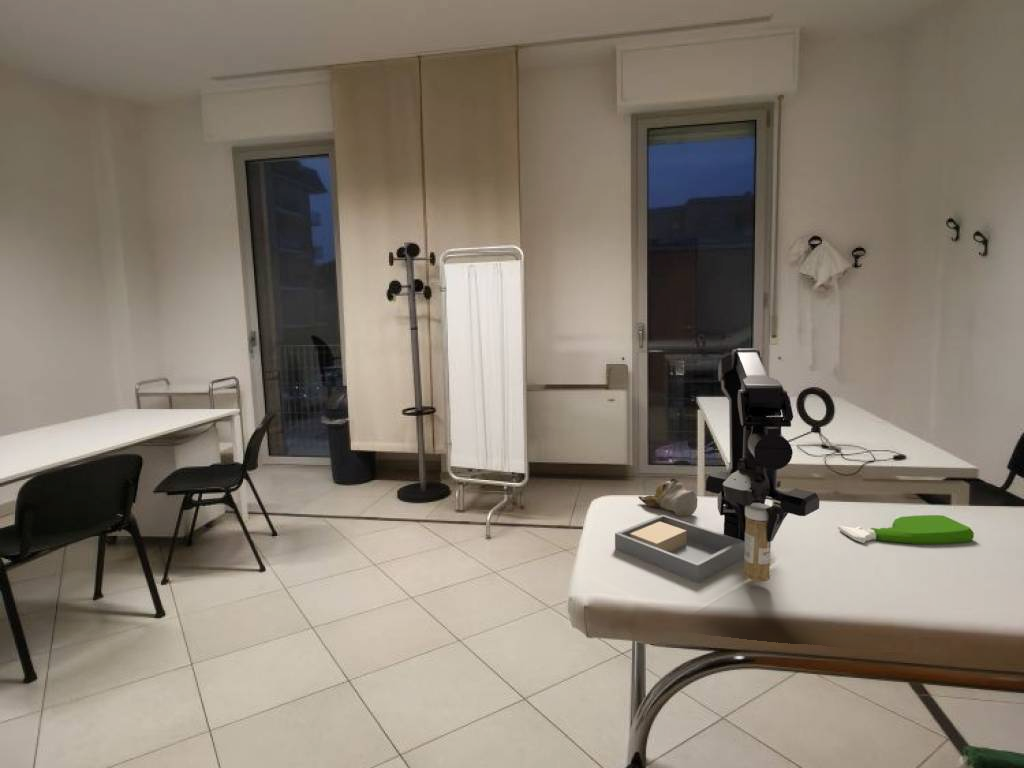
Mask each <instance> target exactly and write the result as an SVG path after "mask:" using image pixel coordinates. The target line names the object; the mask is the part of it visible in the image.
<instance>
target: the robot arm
mask: <svg viewBox="0 0 1024 768" xmlns="http://www.w3.org/2000/svg"><path fill="white" fill-rule="evenodd" d="M717 367H718V369H717V378H718V379H717V380H718V382H720V385H721V388H720V389H721V391H722V393H724V395H725V397H726V398H727V400H728V410H729V411H728V414H729V415H728V416H729V424H728V425H729V427H728V428H729V468H728V470H727V471H724V470H721V471H718V472H715V473H712V474H709V475H708V476H706V478H705V481H704V490H705V491H706V492H709V493H713V494H717V510H718V513H719V516H724V520H723V521H724V522H723V534H724V535H727V536H730V537H733V538H736V539H739V540H742V541H745V527H746V518H745V506H748V505H751V504H752V503H762V504H765V503H766V500H770V501H772V505H770V507H769V508H766V511H767V513H768V515H769V517H768V530H767V539H768V542H773V541H774V539H775V537H776V535H777V533H778V532H779V529H780V528H781V526H782V524H783V523H784V520H785V519H786V517H787V516H788V514H792V515H795V516H799V517H806V516H808V515H810V514H812V513H814V512H815V511H817V510H819V509H820V498H819V496H818V494H817V493H816V492H814V491H810V490H806V489H801V488H796V487H795V488H793V489H791V490H789V491H787V492H786V491H782V490H778V488H781V484H782V482H781V480H778V470H780V469H783V468H785V467H786V466H788V464H789V463H790V462H791V460H792V457H793V451H794V450H793V448H792V445H791V444H790V441H788V440H787V439H786V437H785V436H784V435H783V434H782V427H783V428H785V427H786V428H791V427H792V421H793V419H794V414H793V413H794V412H793V408H792V403H791V398H790V396H789V395H788V391H787V390H786V389H784V387H783V384H781V382H780V381H779V380H778V379H775V378H773V377H770V376H768V374H767V372H766V369H765V367H764V364H763V358H762V357H761V353H760V349H757V348H755V347H753V348H748V347H747V348H742V347H741V348H740V347H739V348H736V349H732V351H731V353H730V354H728V355H726V356H724V357H722V358H721V359H720V360H719V362H718V366H717Z"/></svg>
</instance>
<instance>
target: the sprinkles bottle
mask: <svg viewBox="0 0 1024 768" xmlns="http://www.w3.org/2000/svg"><path fill="white" fill-rule="evenodd" d="M769 507H771V505H768V504H762V503H752V504H751V505H748V506H745V518H746V527H745V550H744V558H743V559H744V569H743V576H744V577H745V578H747V579H748V580H750V581H753V582H759V583H761V582H767V581H768V580H770V578H771V575H770V569H771V565H770V562H771V545H772V544H771V542H772V541H771V542H768V539H767V530H768V517H769V515H768V513H767V511H766V508H769Z"/></svg>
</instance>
